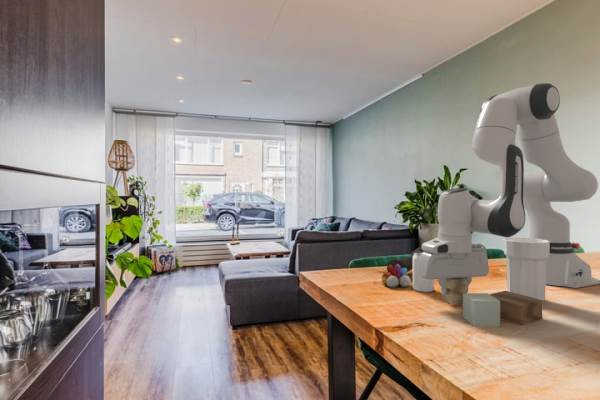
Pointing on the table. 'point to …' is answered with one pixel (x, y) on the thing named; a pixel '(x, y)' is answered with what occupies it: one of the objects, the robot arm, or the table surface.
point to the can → (418, 281)
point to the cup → (526, 266)
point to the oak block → (455, 290)
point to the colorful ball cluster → (396, 276)
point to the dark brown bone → (404, 261)
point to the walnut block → (518, 308)
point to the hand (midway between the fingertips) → (454, 292)
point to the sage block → (481, 309)
